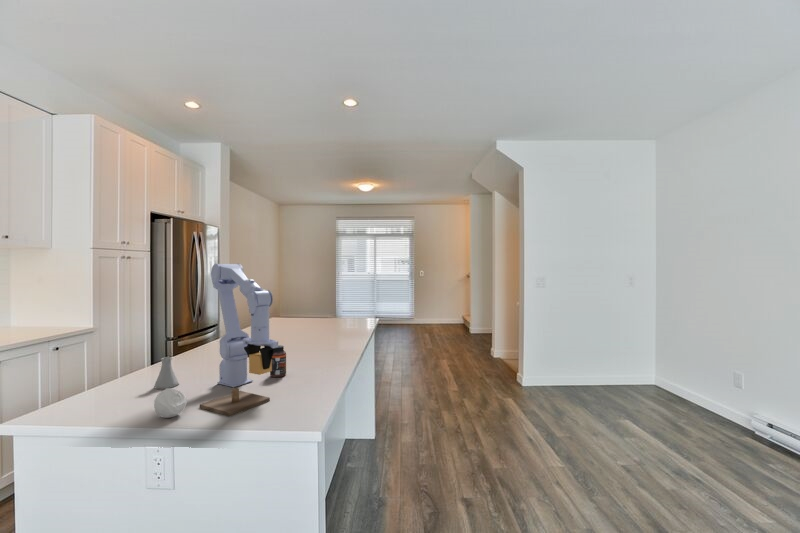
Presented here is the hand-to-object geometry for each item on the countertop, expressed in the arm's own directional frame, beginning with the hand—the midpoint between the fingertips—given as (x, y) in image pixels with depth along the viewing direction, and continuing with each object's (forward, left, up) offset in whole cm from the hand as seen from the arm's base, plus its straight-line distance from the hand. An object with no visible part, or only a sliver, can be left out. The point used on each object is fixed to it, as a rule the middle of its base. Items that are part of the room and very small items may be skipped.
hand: (260, 367), depth 124 cm
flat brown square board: (+1, -11, -8) cm, 14 cm away
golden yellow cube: (0, 0, -1) cm, 1 cm away
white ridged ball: (-7, -26, -9) cm, 28 cm away
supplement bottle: (-11, +17, -9) cm, 22 cm away
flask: (-36, -11, -9) cm, 38 cm away
